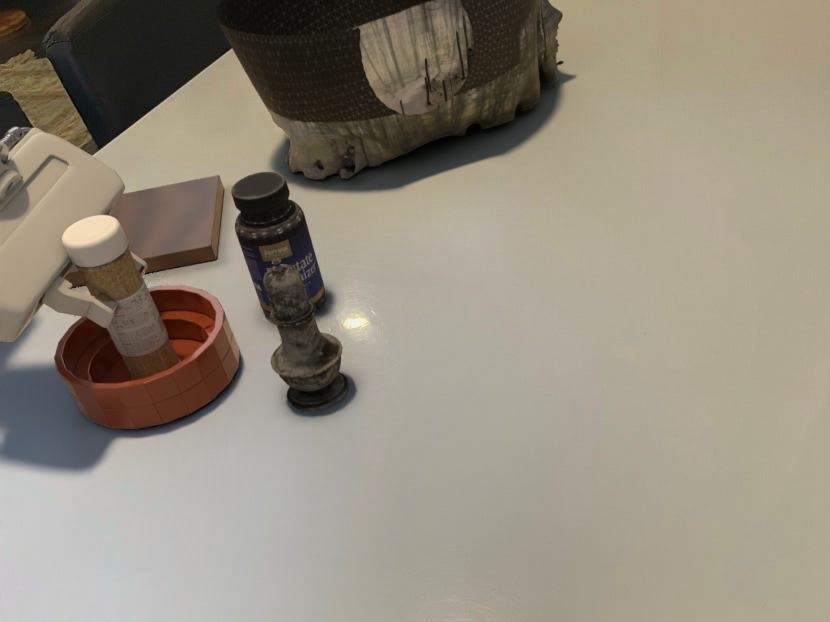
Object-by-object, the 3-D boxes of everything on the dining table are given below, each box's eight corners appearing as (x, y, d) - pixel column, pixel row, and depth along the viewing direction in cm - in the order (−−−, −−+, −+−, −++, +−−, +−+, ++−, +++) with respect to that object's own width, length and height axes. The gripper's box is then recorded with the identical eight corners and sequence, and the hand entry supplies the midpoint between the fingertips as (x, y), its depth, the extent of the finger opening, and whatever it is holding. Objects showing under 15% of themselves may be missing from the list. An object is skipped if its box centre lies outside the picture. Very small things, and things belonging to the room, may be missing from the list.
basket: (588, 155, 98) (579, -28, 86) (255, 210, 101) (198, 40, 88) (558, 47, 116) (547, -118, 103) (275, 96, 118) (231, -60, 106)
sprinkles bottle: (136, 363, 85) (65, 218, 75) (186, 354, 85) (122, 207, 74) (129, 395, 82) (54, 249, 72) (181, 386, 82) (113, 238, 72)
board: (60, 289, 96) (53, 276, 95) (81, 216, 105) (75, 202, 104) (216, 259, 95) (211, 245, 94) (224, 188, 105) (219, 174, 104)
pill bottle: (284, 330, 86) (244, 211, 77) (250, 305, 89) (208, 189, 81) (340, 299, 88) (307, 180, 79) (304, 276, 91) (269, 159, 83)
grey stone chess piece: (274, 385, 81) (226, 253, 72) (339, 360, 82) (299, 226, 73) (295, 422, 77) (248, 288, 68) (362, 396, 78) (324, 260, 69)
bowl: (67, 446, 80) (41, 402, 76) (91, 346, 89) (68, 302, 85) (237, 414, 79) (218, 369, 76) (243, 317, 88) (227, 272, 85)
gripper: (10, 147, 80) (162, 252, 86) (-124, 286, 68) (63, 398, 74) (30, 87, 76) (189, 202, 81) (-109, 224, 64) (88, 348, 69)
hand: (128, 296), depth 78 cm, fingers closed on sprinkles bottle, 4 cm apart
